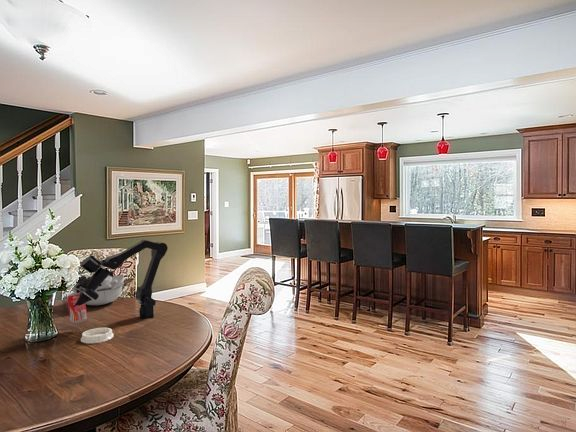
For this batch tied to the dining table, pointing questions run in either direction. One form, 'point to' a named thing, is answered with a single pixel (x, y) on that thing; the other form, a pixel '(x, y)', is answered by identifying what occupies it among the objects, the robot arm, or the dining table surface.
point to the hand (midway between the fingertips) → (72, 306)
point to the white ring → (97, 335)
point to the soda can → (76, 308)
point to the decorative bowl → (107, 290)
